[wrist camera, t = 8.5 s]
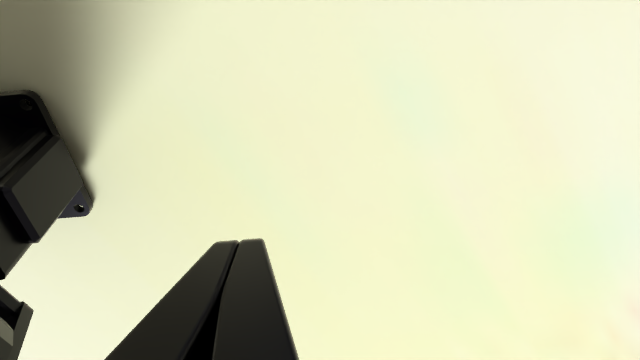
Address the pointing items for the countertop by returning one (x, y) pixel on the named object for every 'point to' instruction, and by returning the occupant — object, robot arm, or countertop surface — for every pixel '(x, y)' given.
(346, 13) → the countertop surface
